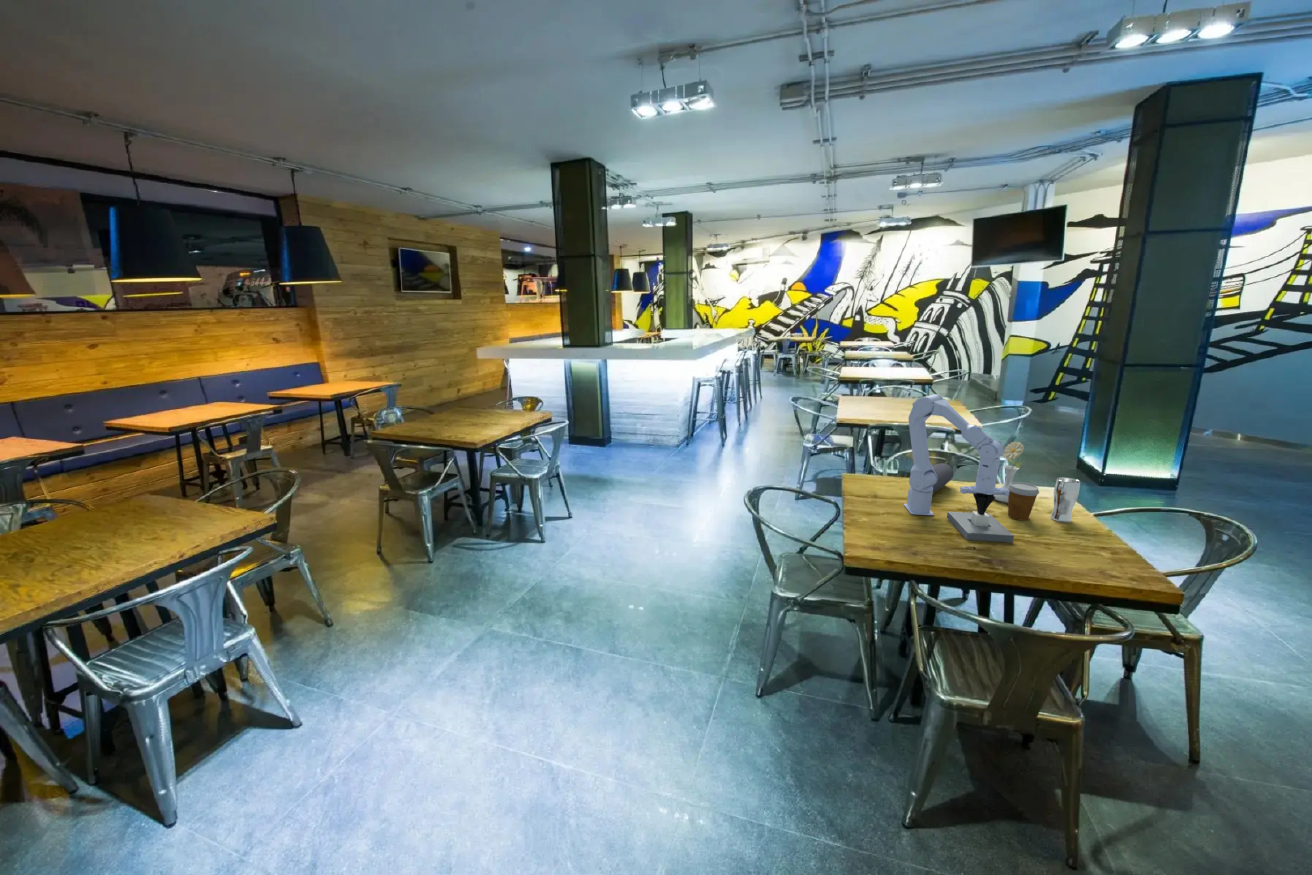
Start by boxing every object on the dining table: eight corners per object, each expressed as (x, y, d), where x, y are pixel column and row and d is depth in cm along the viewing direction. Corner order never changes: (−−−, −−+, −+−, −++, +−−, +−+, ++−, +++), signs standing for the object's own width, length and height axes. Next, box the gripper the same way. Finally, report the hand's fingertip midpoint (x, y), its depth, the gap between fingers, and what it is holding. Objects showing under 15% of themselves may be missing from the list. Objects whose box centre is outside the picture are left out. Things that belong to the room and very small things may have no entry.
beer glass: (1069, 517, 189) (1078, 478, 185) (1075, 524, 183) (1084, 484, 179) (1046, 514, 192) (1054, 475, 188) (1051, 521, 186) (1059, 481, 182)
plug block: (969, 527, 181) (972, 511, 180) (982, 527, 181) (984, 511, 179) (974, 531, 178) (977, 515, 176) (987, 532, 177) (989, 516, 175)
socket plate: (946, 517, 189) (947, 511, 188) (988, 520, 187) (989, 513, 186) (966, 539, 172) (967, 532, 171) (1012, 542, 170) (1014, 535, 169)
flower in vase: (985, 493, 212) (995, 434, 206) (1017, 496, 209) (1028, 437, 202) (994, 505, 200) (1005, 443, 194) (1028, 508, 197) (1041, 445, 190)
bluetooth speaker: (929, 481, 227) (932, 459, 224) (953, 486, 220) (956, 464, 218) (909, 494, 212) (912, 471, 209) (933, 500, 205) (936, 477, 203)
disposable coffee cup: (1040, 522, 185) (1046, 490, 182) (1013, 522, 185) (1019, 490, 182) (1021, 511, 194) (1027, 481, 191) (996, 511, 194) (1002, 481, 191)
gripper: (968, 479, 172) (962, 517, 175) (1016, 481, 169) (1009, 519, 173) (960, 472, 178) (954, 509, 182) (1006, 474, 176) (999, 511, 180)
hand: (980, 513), depth 178 cm, fingers closed, pressing on plug block
